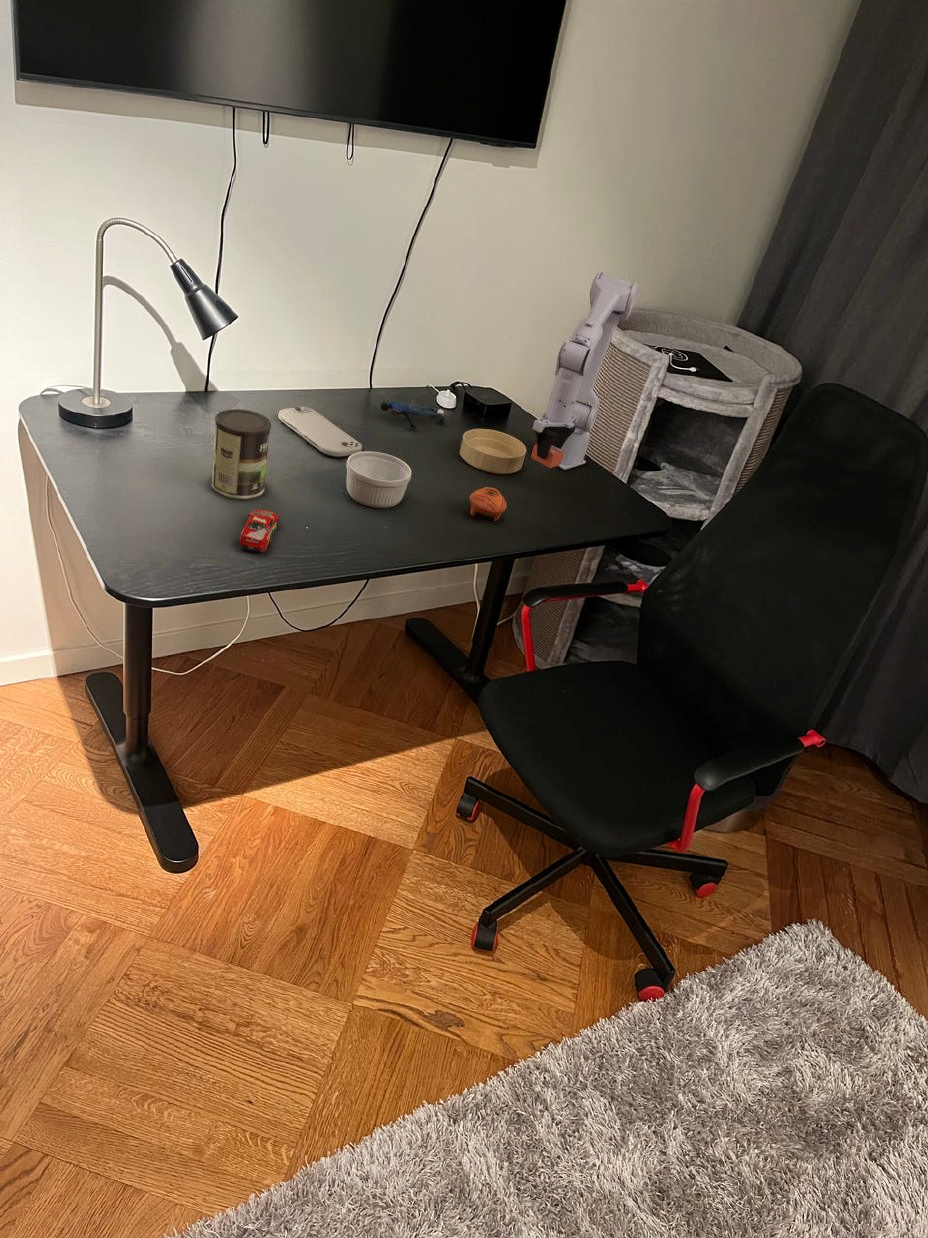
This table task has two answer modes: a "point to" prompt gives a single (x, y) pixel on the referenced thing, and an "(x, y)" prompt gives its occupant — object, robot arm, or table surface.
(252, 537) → the race car
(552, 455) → the orange-red block
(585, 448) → the robot arm
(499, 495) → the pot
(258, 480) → the coffee can
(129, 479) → the table surface
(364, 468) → the ramekin
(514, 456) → the bowl
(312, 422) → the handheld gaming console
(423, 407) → the person figurine
